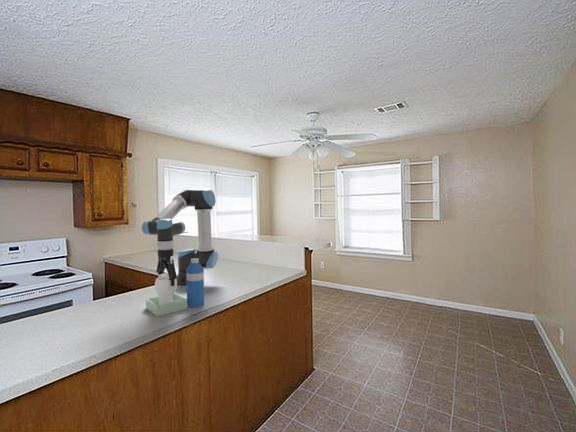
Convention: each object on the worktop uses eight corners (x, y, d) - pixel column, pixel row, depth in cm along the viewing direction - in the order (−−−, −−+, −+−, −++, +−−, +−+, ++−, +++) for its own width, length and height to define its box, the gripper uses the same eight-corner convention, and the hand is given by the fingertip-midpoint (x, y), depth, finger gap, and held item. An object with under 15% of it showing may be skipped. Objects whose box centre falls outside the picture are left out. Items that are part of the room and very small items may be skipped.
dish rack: (174, 301, 162) (174, 292, 162) (187, 308, 151) (186, 298, 151) (146, 308, 151) (145, 298, 151) (157, 316, 140) (157, 306, 140)
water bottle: (199, 300, 164) (198, 256, 163) (207, 304, 157) (207, 258, 156) (183, 304, 157) (182, 258, 156) (191, 308, 150) (190, 261, 149)
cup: (167, 311, 144) (166, 281, 144) (150, 308, 148) (150, 279, 147) (181, 304, 154) (181, 276, 154) (165, 302, 158) (165, 274, 157)
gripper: (149, 246, 156) (150, 285, 157) (168, 252, 138) (169, 296, 140) (163, 245, 161) (164, 282, 163) (183, 250, 144) (184, 292, 145)
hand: (166, 289), depth 151 cm, fingers open, 13 cm apart
